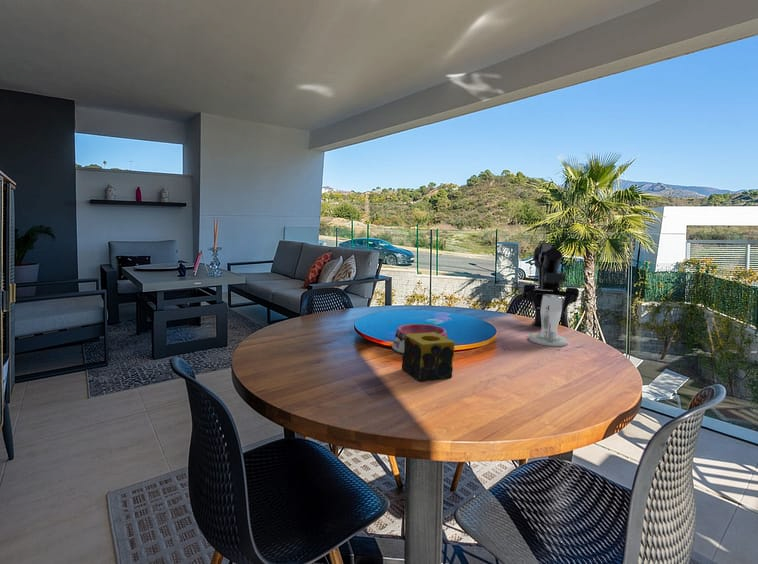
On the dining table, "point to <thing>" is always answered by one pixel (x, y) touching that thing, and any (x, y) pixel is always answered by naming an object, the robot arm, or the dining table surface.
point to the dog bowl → (411, 329)
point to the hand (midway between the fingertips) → (550, 312)
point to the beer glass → (550, 314)
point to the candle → (428, 356)
